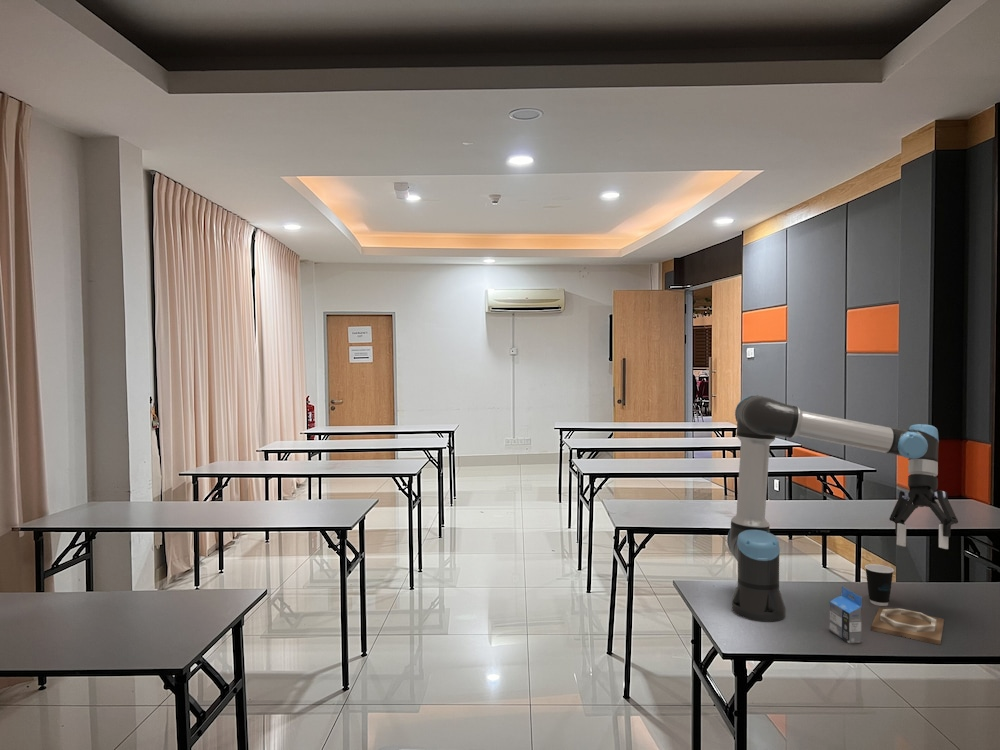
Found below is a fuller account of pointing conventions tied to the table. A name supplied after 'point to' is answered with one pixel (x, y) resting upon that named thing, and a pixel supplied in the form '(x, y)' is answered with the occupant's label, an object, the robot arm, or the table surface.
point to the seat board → (908, 624)
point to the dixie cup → (879, 583)
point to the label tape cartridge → (846, 616)
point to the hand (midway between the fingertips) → (921, 547)
